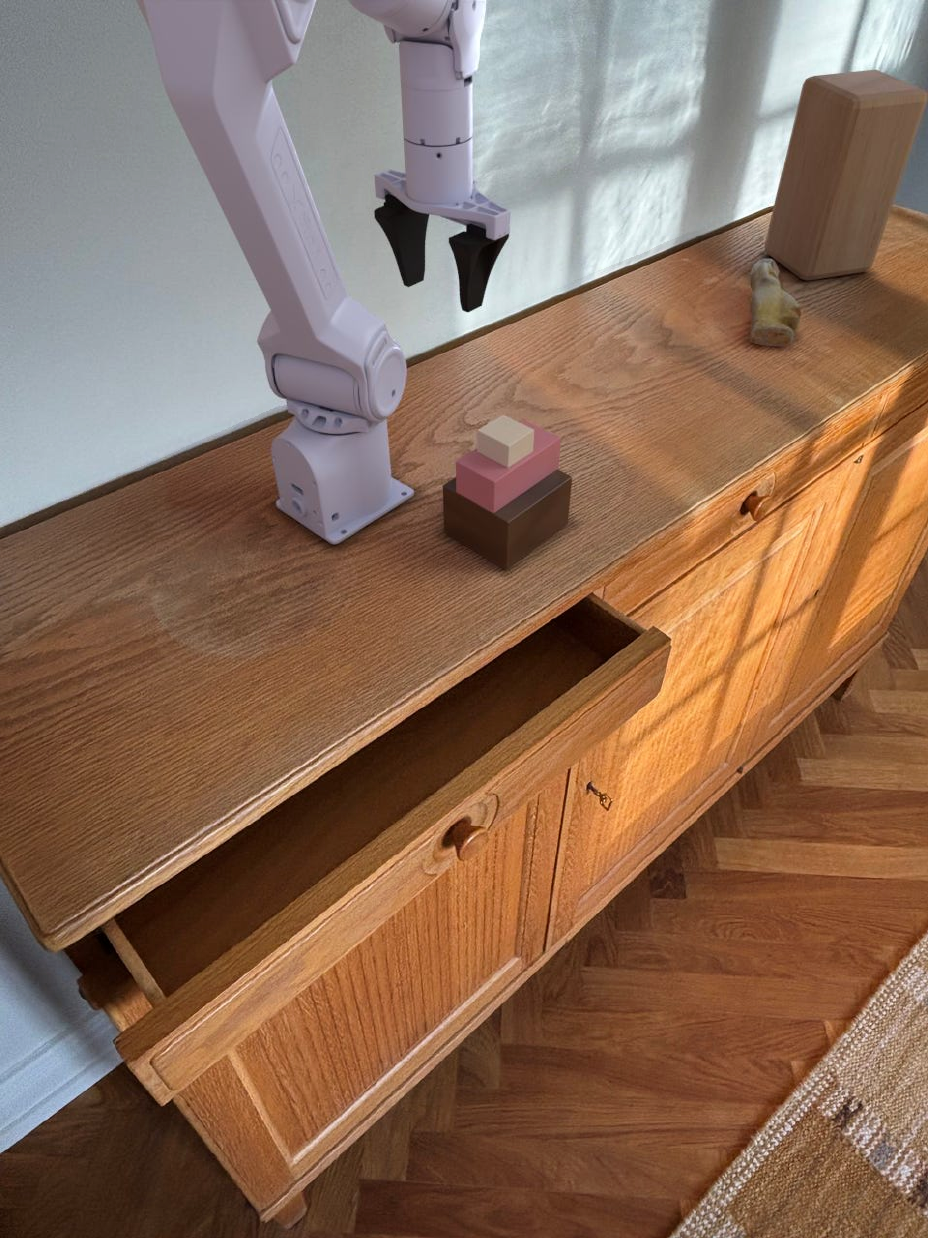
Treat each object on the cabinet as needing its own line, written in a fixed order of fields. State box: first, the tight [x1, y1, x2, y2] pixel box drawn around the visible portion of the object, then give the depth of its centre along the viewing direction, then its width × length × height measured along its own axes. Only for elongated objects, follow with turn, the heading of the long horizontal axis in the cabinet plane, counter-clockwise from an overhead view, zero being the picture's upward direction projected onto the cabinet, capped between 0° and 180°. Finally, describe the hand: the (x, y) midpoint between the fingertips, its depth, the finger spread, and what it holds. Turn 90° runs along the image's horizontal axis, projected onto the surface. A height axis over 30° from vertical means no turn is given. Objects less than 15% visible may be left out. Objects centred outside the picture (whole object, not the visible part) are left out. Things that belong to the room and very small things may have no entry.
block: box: [764, 69, 928, 281], centre depth 102 cm, size 10×10×20 cm
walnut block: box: [442, 468, 573, 571], centre depth 72 cm, size 8×7×5 cm
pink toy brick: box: [455, 414, 562, 513], centre depth 68 cm, size 8×4×5 cm, turn 137°
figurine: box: [748, 257, 802, 347], centre depth 98 cm, size 5×5×15 cm
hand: (442, 295), depth 81 cm, fingers open, 7 cm apart
